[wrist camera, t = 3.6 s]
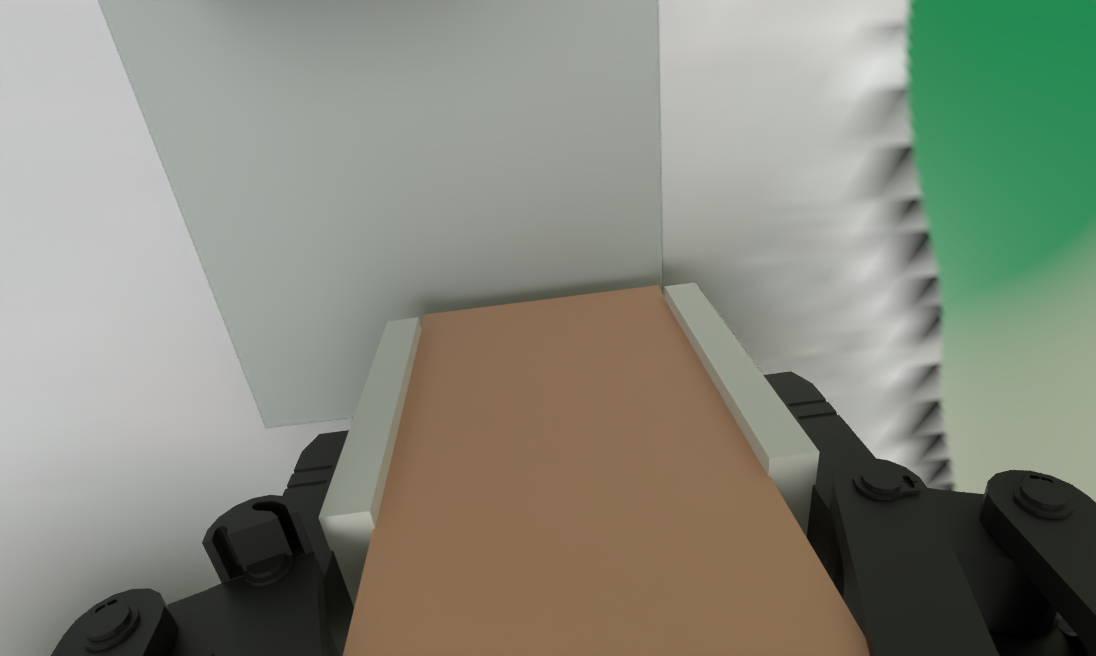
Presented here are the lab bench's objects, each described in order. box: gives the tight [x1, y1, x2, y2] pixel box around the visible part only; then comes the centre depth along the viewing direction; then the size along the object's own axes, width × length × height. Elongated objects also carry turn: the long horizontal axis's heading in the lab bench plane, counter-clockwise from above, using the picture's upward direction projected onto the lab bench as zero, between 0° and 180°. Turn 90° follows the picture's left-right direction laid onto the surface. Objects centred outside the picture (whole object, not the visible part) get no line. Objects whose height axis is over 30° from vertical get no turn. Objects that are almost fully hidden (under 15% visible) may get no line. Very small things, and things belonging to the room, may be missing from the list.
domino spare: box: [343, 285, 870, 656], centre depth 11 cm, size 2×6×11 cm, turn 96°
